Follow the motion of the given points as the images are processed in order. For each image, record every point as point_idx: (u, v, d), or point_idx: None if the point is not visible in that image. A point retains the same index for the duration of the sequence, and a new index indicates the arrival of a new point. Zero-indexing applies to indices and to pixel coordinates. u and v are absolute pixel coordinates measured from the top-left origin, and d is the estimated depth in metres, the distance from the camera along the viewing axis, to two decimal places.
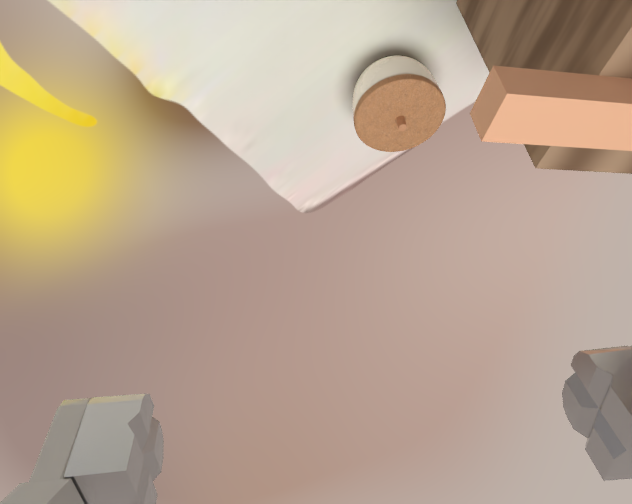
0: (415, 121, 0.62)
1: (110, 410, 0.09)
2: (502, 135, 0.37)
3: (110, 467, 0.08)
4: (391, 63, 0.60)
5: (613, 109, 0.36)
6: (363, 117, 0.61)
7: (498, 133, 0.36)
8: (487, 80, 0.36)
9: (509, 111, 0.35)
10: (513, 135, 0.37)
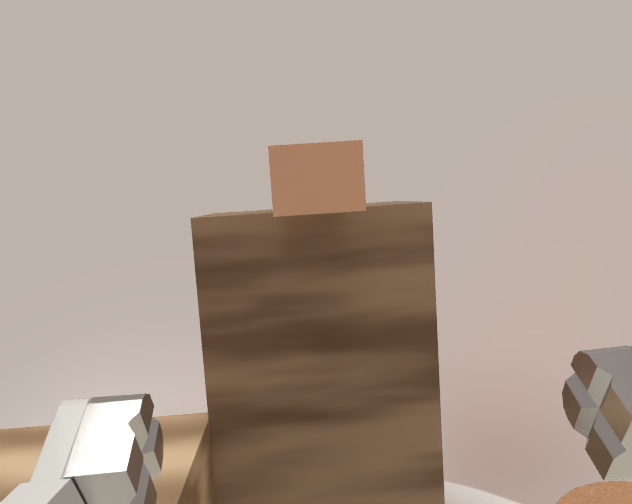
0: None
1: (110, 410, 0.09)
2: None
3: (110, 467, 0.08)
4: None
5: None
6: None
7: None
8: (297, 211, 0.23)
9: None
10: None
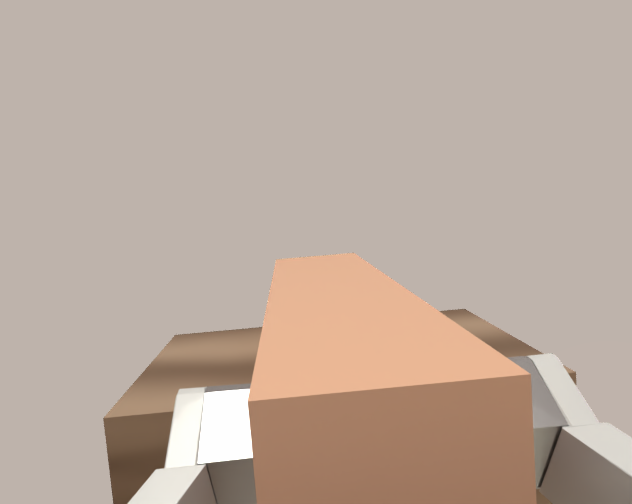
0: None
1: (229, 398, 0.09)
2: (457, 353, 0.09)
3: (242, 453, 0.08)
4: None
5: (285, 298, 0.15)
6: None
7: (455, 360, 0.08)
8: None
9: (338, 373, 0.08)
10: (439, 341, 0.10)
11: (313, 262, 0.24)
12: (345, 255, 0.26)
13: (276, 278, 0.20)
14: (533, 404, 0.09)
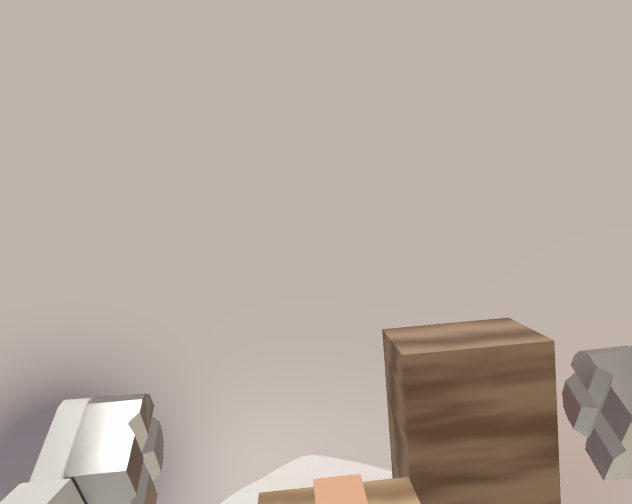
0: None
1: (110, 410, 0.09)
2: None
3: (110, 467, 0.08)
4: None
5: None
6: None
7: None
8: None
9: None
10: None
11: (337, 495, 0.42)
12: (355, 480, 0.44)
13: None
14: None
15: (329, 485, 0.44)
